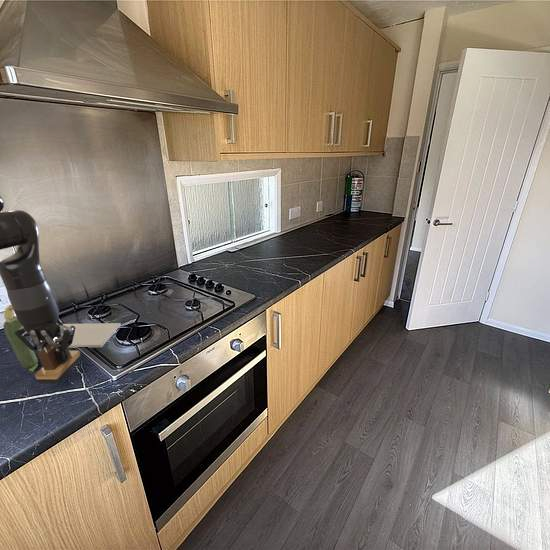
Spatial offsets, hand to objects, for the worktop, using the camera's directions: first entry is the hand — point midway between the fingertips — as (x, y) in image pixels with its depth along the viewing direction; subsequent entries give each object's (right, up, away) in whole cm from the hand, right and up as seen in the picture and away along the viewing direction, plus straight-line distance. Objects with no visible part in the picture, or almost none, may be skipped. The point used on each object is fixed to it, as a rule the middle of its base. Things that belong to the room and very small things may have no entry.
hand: (57, 361), depth 73 cm
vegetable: (-12, -4, +8) cm, 15 cm away
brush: (0, -3, +1) cm, 3 cm away
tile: (-8, +2, +21) cm, 23 cm away
